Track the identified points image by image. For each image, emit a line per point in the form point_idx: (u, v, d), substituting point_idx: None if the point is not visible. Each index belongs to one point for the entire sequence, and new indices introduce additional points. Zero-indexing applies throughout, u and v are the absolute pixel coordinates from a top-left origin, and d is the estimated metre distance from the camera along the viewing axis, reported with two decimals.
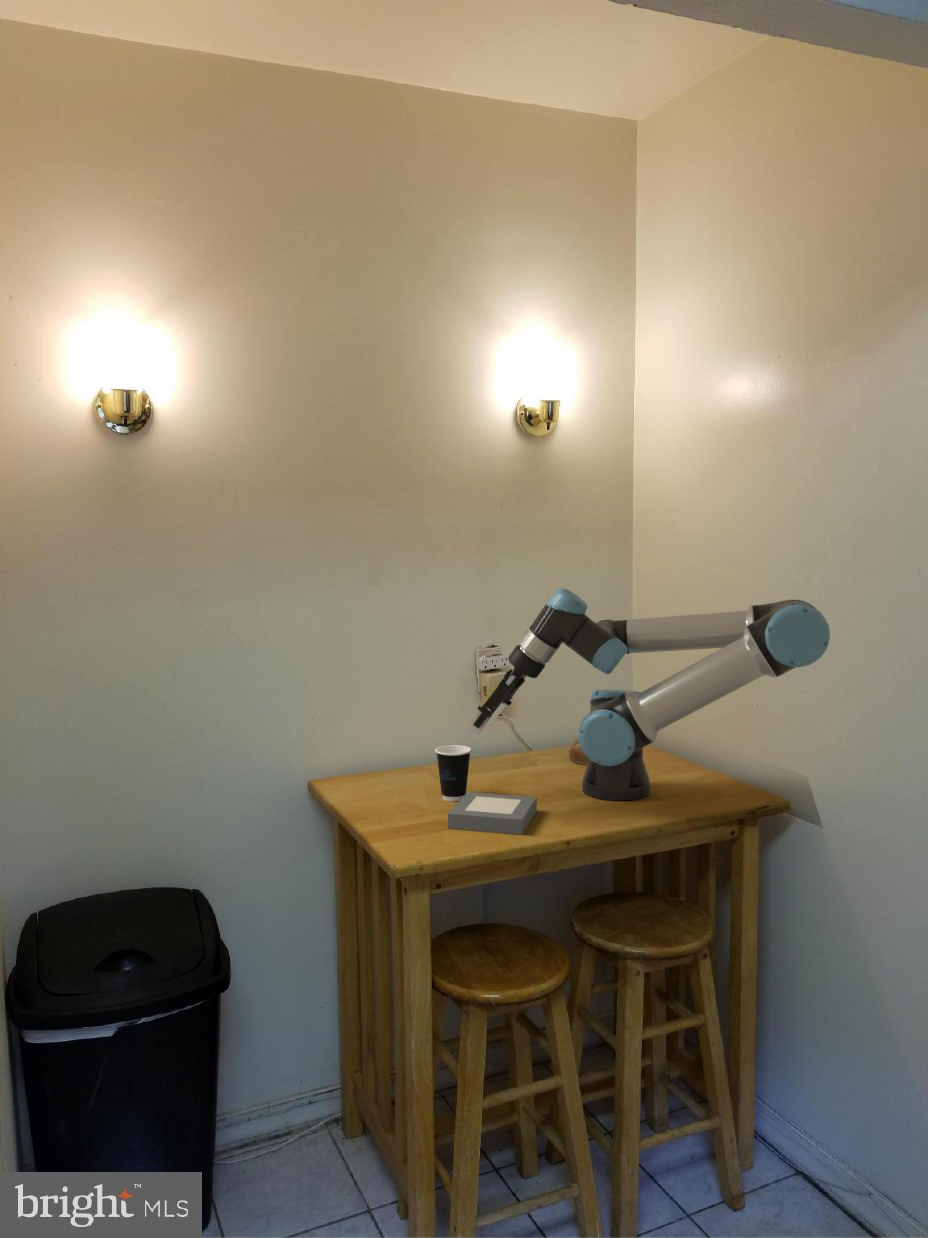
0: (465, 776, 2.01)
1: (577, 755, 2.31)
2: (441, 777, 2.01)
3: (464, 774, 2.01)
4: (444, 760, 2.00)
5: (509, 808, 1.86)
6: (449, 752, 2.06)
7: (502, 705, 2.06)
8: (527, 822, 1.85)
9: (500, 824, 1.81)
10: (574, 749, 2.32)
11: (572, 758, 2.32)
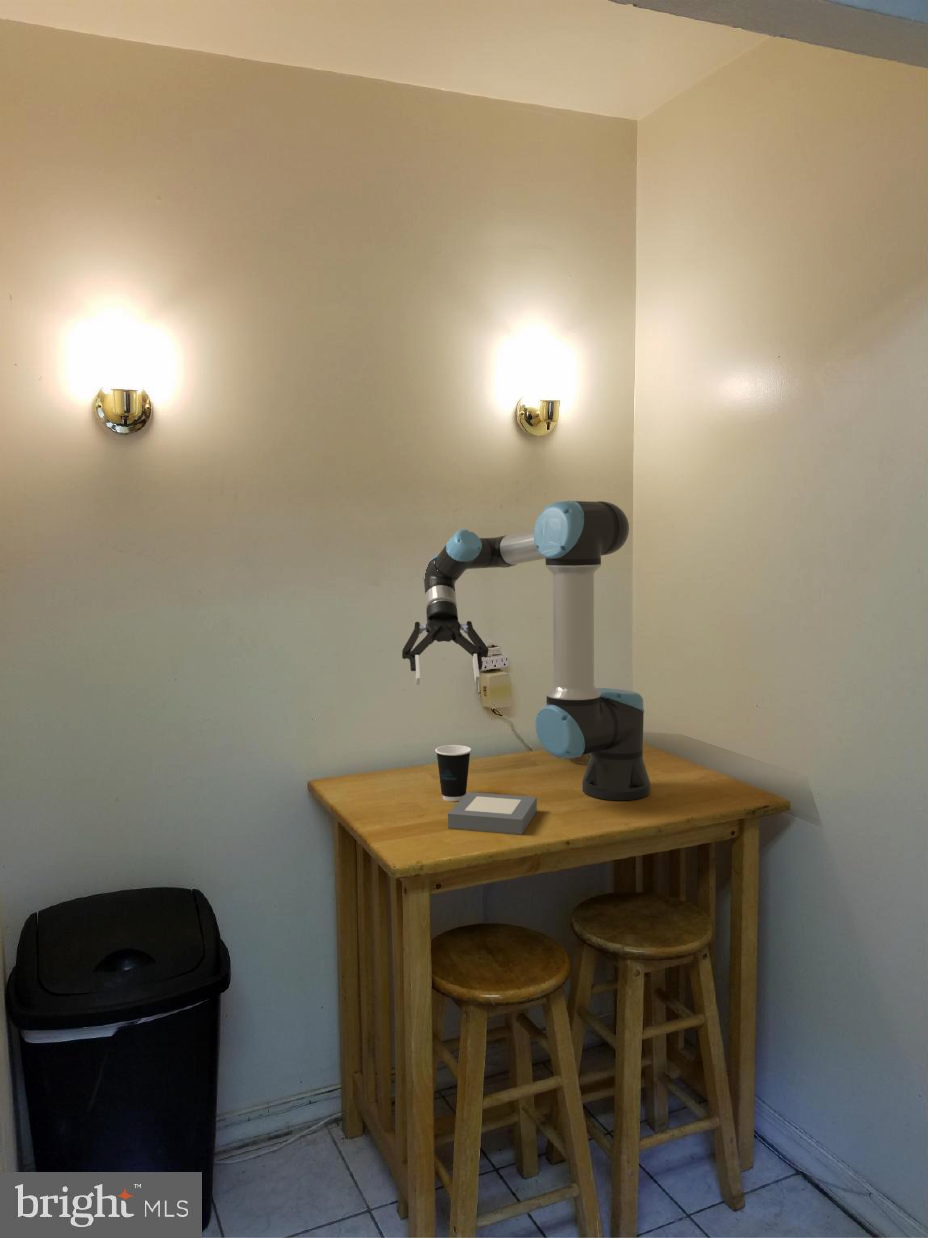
0: (465, 776, 2.01)
1: None
2: (441, 777, 2.01)
3: (464, 774, 2.01)
4: (444, 760, 2.00)
5: (509, 808, 1.86)
6: (449, 752, 2.06)
7: (473, 656, 2.15)
8: (527, 822, 1.85)
9: (500, 824, 1.81)
10: None
11: (572, 758, 2.32)
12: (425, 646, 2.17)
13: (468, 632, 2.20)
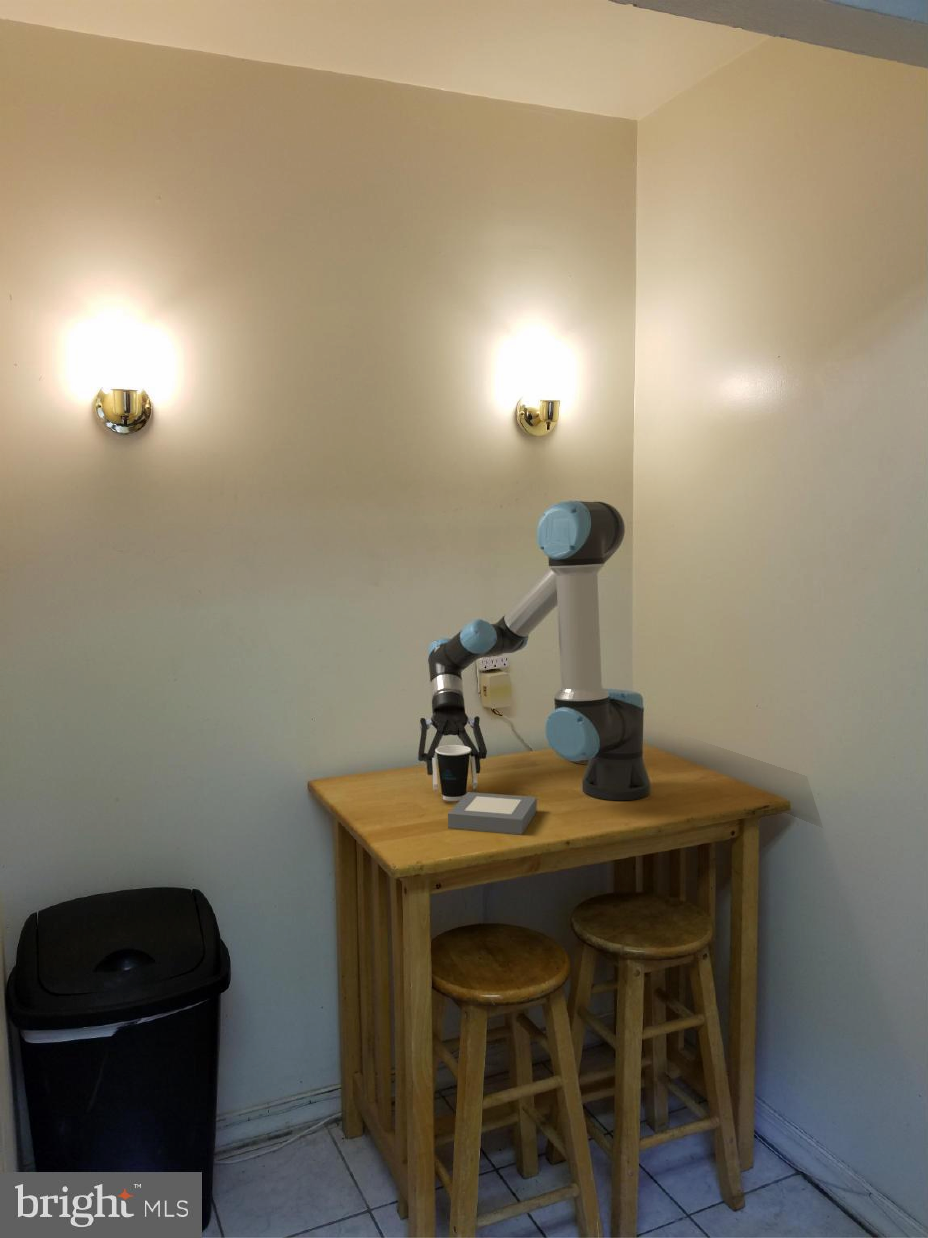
0: (465, 776, 2.01)
1: None
2: (441, 776, 2.01)
3: (464, 774, 2.01)
4: (444, 760, 2.00)
5: (509, 808, 1.86)
6: (449, 752, 2.06)
7: (471, 759, 2.04)
8: (527, 822, 1.85)
9: (500, 824, 1.81)
10: None
11: None
12: (438, 744, 2.06)
13: (473, 728, 2.09)
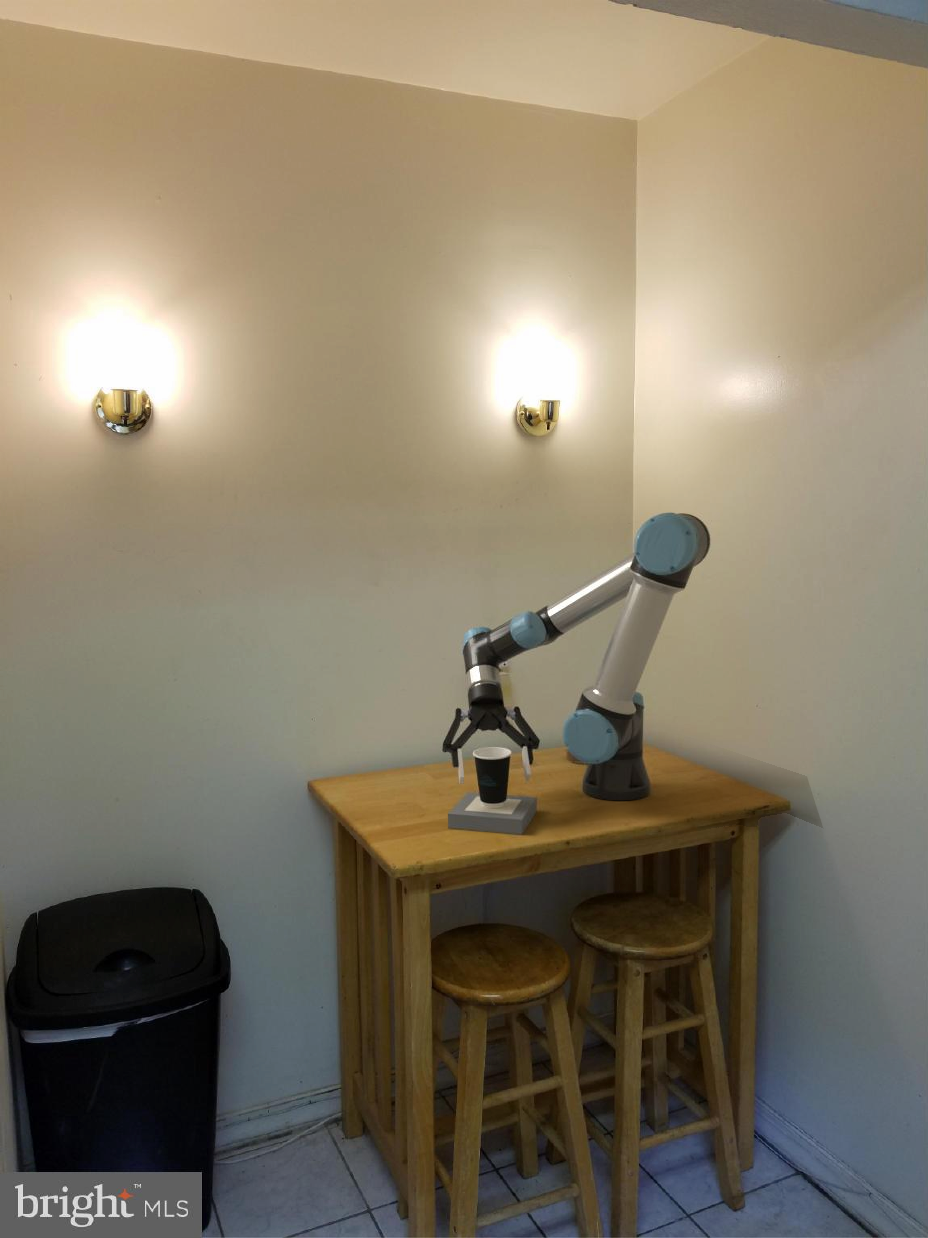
0: (506, 781, 1.86)
1: None
2: (480, 782, 1.86)
3: (505, 779, 1.86)
4: (483, 764, 1.84)
5: (509, 808, 1.86)
6: (487, 755, 1.91)
7: (523, 749, 1.90)
8: (527, 822, 1.85)
9: (500, 824, 1.81)
10: None
11: (569, 758, 2.32)
12: (468, 737, 1.92)
13: (516, 720, 1.95)
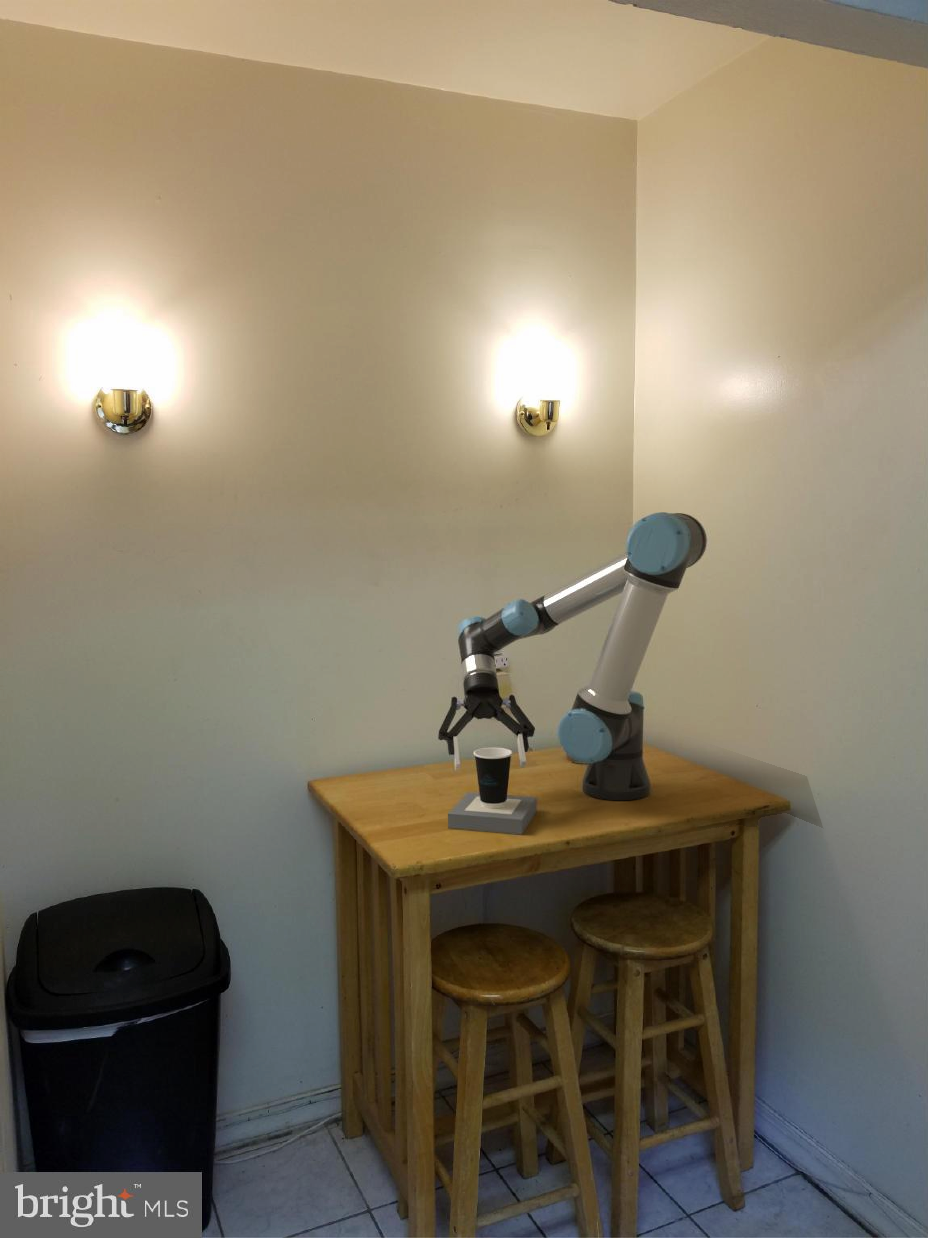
0: (506, 781, 1.86)
1: None
2: (480, 782, 1.86)
3: (505, 779, 1.86)
4: (483, 764, 1.85)
5: (509, 808, 1.86)
6: (488, 755, 1.91)
7: (518, 736, 1.92)
8: (527, 822, 1.85)
9: (500, 824, 1.81)
10: None
11: (569, 757, 2.32)
12: (464, 725, 1.94)
13: (511, 708, 1.97)
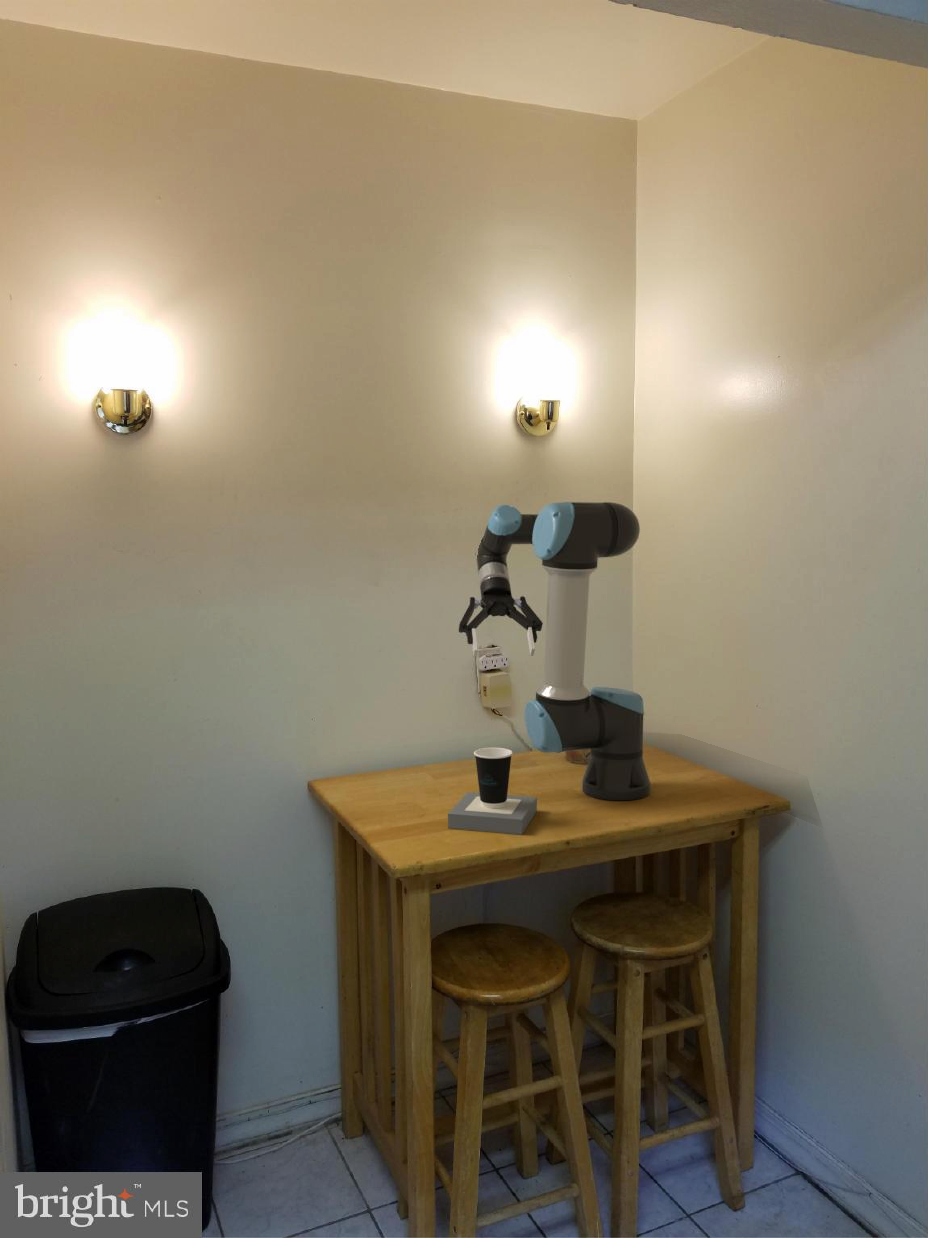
0: (506, 781, 1.87)
1: (573, 754, 2.31)
2: (481, 782, 1.86)
3: (505, 779, 1.86)
4: (484, 763, 1.85)
5: (509, 808, 1.86)
6: (488, 755, 1.91)
7: (528, 629, 2.22)
8: (527, 822, 1.85)
9: (500, 824, 1.81)
10: None
11: (568, 757, 2.32)
12: (481, 620, 2.23)
13: (522, 607, 2.27)
